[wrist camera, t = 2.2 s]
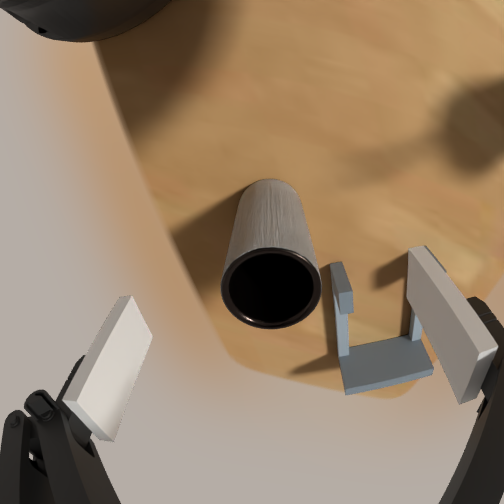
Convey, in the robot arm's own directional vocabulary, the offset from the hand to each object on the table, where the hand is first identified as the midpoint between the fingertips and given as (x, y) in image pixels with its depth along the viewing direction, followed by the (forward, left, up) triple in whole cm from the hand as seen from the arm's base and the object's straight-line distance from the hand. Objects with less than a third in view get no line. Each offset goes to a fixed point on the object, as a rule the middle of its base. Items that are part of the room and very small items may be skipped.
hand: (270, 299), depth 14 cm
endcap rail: (+11, +8, -10) cm, 17 cm away
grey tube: (0, 0, -10) cm, 10 cm away
